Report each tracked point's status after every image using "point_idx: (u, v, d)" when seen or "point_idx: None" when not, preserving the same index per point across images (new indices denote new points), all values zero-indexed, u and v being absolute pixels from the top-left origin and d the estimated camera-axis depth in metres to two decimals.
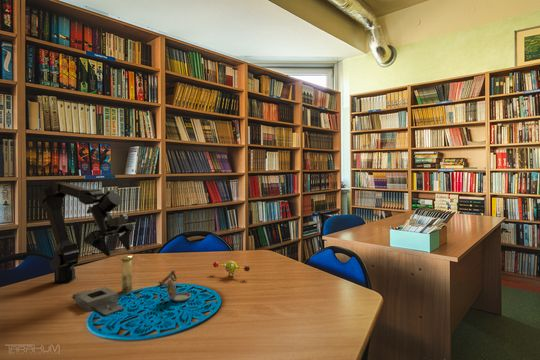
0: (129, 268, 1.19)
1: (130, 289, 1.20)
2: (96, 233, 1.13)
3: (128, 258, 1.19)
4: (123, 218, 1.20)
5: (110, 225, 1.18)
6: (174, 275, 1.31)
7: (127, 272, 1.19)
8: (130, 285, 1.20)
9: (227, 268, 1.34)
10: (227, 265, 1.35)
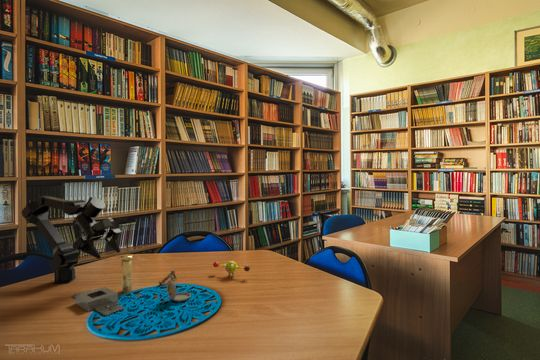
0: (129, 268, 1.19)
1: (130, 289, 1.20)
2: (83, 237, 1.16)
3: (128, 258, 1.19)
4: (108, 221, 1.24)
5: (97, 229, 1.21)
6: (174, 275, 1.31)
7: (127, 272, 1.19)
8: (130, 285, 1.20)
9: (227, 268, 1.34)
10: (227, 265, 1.35)
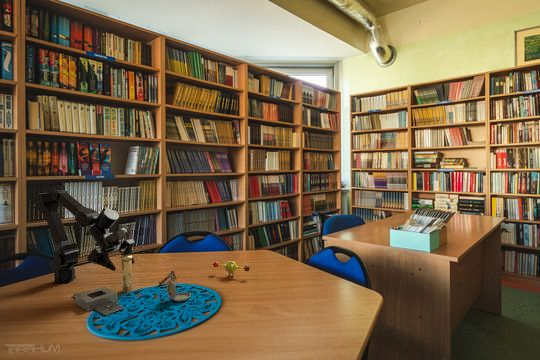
0: (129, 268, 1.19)
1: (130, 289, 1.20)
2: (98, 249, 1.14)
3: (128, 258, 1.19)
4: (122, 232, 1.22)
5: (111, 240, 1.19)
6: (174, 275, 1.31)
7: (127, 272, 1.19)
8: (130, 285, 1.20)
9: (227, 268, 1.34)
10: (227, 265, 1.35)
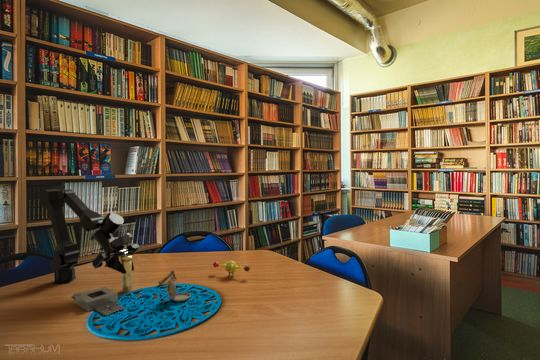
0: (129, 268, 1.19)
1: (130, 289, 1.20)
2: (103, 254, 1.13)
3: (128, 258, 1.19)
4: (127, 236, 1.21)
5: (116, 245, 1.19)
6: (174, 275, 1.31)
7: (127, 272, 1.19)
8: (130, 285, 1.20)
9: (227, 268, 1.34)
10: (227, 265, 1.35)
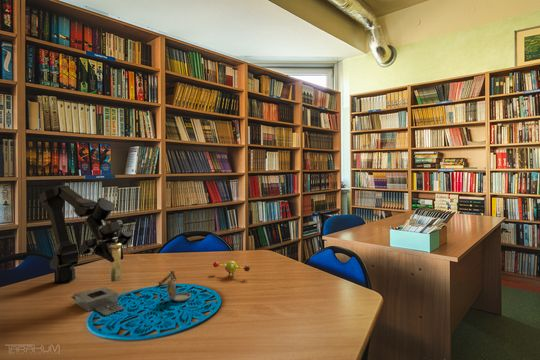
0: (117, 256, 1.14)
1: (118, 278, 1.15)
2: (89, 241, 1.09)
3: (116, 246, 1.13)
4: (117, 223, 1.16)
5: (104, 232, 1.14)
6: (173, 275, 1.31)
7: (115, 260, 1.14)
8: (118, 274, 1.15)
9: (227, 268, 1.34)
10: (227, 265, 1.35)
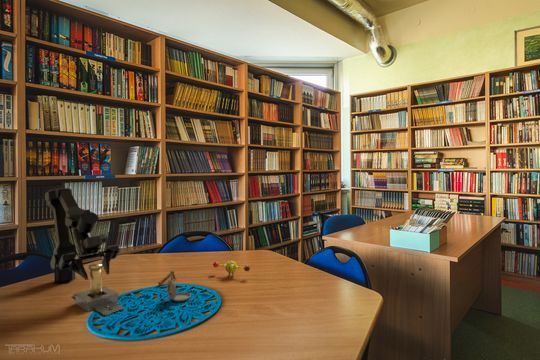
0: (96, 278, 1.08)
1: None
2: (66, 256, 1.04)
3: (94, 267, 1.07)
4: (98, 238, 1.10)
5: (85, 246, 1.09)
6: (173, 275, 1.31)
7: (94, 282, 1.08)
8: None
9: (227, 268, 1.34)
10: (227, 265, 1.35)
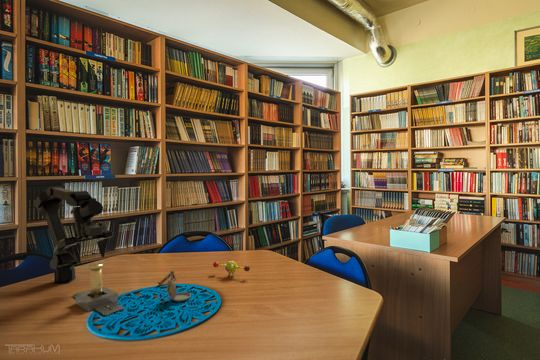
0: (96, 278, 1.08)
1: None
2: (68, 241, 1.14)
3: (95, 267, 1.07)
4: (100, 228, 1.19)
5: (86, 233, 1.18)
6: (173, 275, 1.31)
7: (94, 282, 1.08)
8: None
9: (227, 268, 1.34)
10: (227, 265, 1.35)
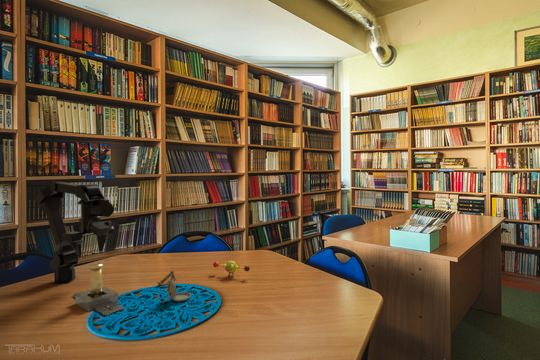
0: (96, 278, 1.08)
1: None
2: (75, 237, 1.16)
3: (95, 267, 1.07)
4: (106, 229, 1.22)
5: (92, 231, 1.21)
6: (173, 275, 1.31)
7: (94, 282, 1.08)
8: None
9: (227, 268, 1.34)
10: (227, 265, 1.35)
